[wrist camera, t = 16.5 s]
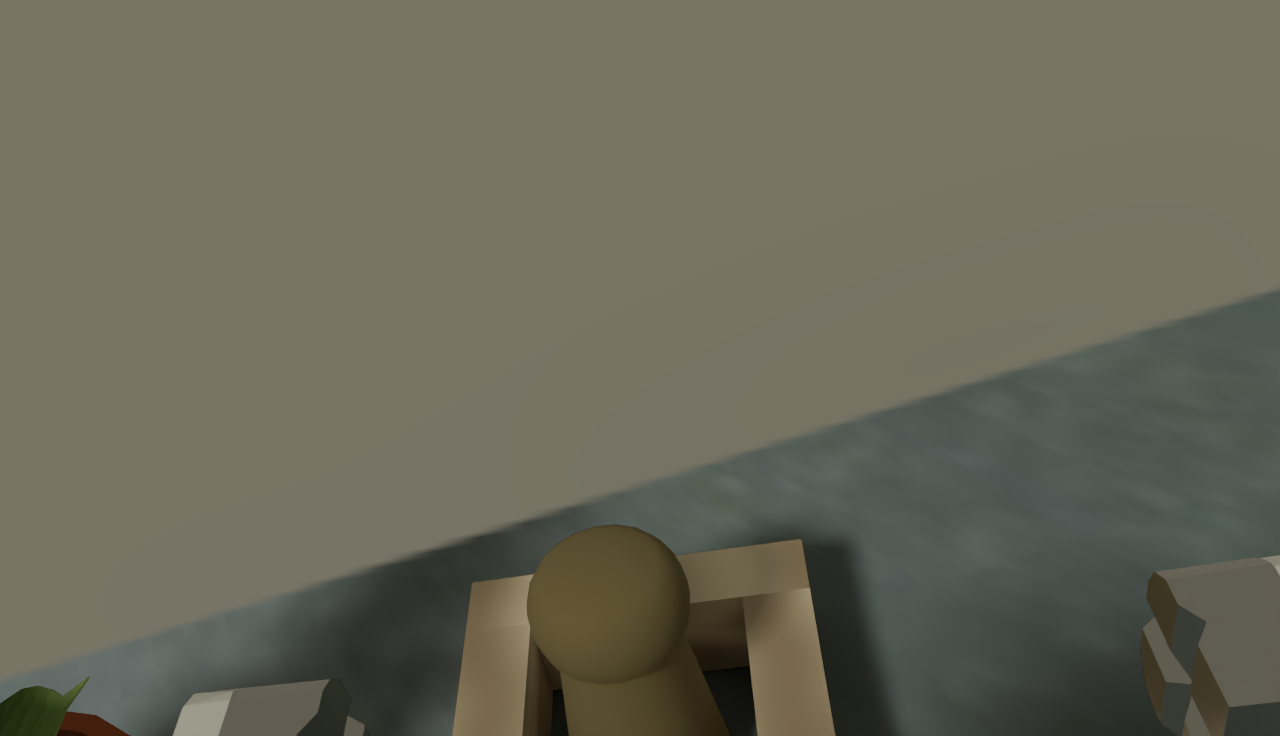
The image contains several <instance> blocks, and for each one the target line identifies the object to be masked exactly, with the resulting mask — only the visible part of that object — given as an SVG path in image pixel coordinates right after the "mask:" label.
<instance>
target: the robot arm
mask: <svg viewBox="0 0 1280 736" xmlns="http://www.w3.org/2000/svg"><path fill="white" fill-rule="evenodd" d="M1146 598H1147V601H1148V603H1149V605H1150V607H1151V609H1152V612H1153V614H1154V616H1155V617H1154V618H1153V619H1152V620H1151V621H1150V622H1149V623H1148V624H1147V625H1146V626H1145V627H1144V628H1143V629H1142V642H1141V657H1142V665H1143V672H1144V679H1145V682H1146V685H1147V689H1148V692H1149V695H1150V699H1151V701H1152V704H1153V706H1154V709H1155V711H1156V713H1157V716H1158V718H1159V721H1160V723H1161V724H1162V725H1164V726H1165V727H1167V728H1168V729H1169V730H1171V731H1172V732H1174V733H1175V734H1176V735H1178V736H1280V555H1279V556H1271V557H1263V558H1261V559H1258V558H1248V559H1241V560H1234V561H1227V562H1220V563H1213V564H1206V565H1199V566H1192V567H1185V568H1178V569H1171V570H1164V571H1156V572H1154V573H1153V575H1152V576H1151V578H1150V579H1149V583H1148V590H1147V597H1146ZM350 702H351V697H350V696H349V694H348V692H347V690H346V689H345V687H344V685H343V684H342V682H341V680H340V679H327V680H317V681H307V682H297V683H287V684H277V685H268V686H258V687H248V688H240V689H231V690H222V691H214V692H205V693H196V694H193V696H192V697H191V698H190V699H189V700H188V702H187V703H186V704H185V705H184V707H183V708H182V710H181V713H180V716H179V719H178V721H177V724H176V727H175V730H174V733H173V736H370V734H369V732H368V730H367V728H366V726H365V725H364V724H362V723H360V722H358V721H357V720H355V719H353V718H351V717H349V716H348V712H349V707H350Z"/></svg>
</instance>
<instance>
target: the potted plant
mask: <svg viewBox="0 0 1280 736" xmlns="http://www.w3.org/2000/svg"><path fill="white" fill-rule="evenodd" d="M88 679H89V677H87V678H86V679H85V680H84V681H82V682H81V683H80V684H78V685H77V686H76V687H74V688H73V689H72V690H71V691H69V692H68V693H67V694H65V695H64V696H62V695H61V694H59V693H57V692H56V691H54V690H52V689H48V688H44V687H41V686H34V687H29V688H24V689H21V690H19V691H18V692H16V693H15V694H13V695H12V696H10V697H9V698H8V699H6V700H5V701H3V702H2V703H0V736H130V735H128V734H126V733H125V732H123V731H121V730H120V729H118V728H116V727H115V726H113V725H112V724H110V723H108V722H107V721H105V720H103V719H102V718H100V717H98V716H97V715H90V714H82V713H75V712H67V709H68V708H69V706H70V705H71V703H72V702H73V701H74V699H75V698H76V696H77V695H78V693H79V692H80V691H81V689H82V688H83V686H84V685H85V684H86V682H87V681H88Z"/></svg>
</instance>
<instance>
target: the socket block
mask: <svg viewBox="0 0 1280 736" xmlns="http://www.w3.org/2000/svg"><path fill="white" fill-rule="evenodd" d="M676 557H677V559H678V560H679V562H680V564H681V566H682V568H683V571H684V573H685V576H686V578H687V580H688V585H689V590H690V615H689V622H688V626H687V629H686V631H685V635H686V637H687V640H688V642H689V644H690V646H691V649H692V651H693V653H694V655H695V657H696V660H697V662H698V664H699V666H700V669H701V671H702V672H704V671H712V670H720V669H729V668H737V667H745V666H750V671H751V680H752V689H753V698H754V707H755V716H756V725H757V734H758V736H835V731H834V725H833V719H832V714H831V708H830V702H829V696H828V690H827V685H826V679H825V673H824V667H823V661H822V656H821V650H820V644H819V638H818V632H817V627H816V621H815V615H814V609H813V603H812V598H811V592H810V586H809V580H808V575H807V569H806V563H805V557H804V551H803V546H802V540H801V539H797V540H790V541H782V542H775V543H767V544H759V545H752V546H744V547H737V548H729V549H722V550H714V551H707V552H699V553H692V554H684V555H677V556H676ZM533 575H534V574H533ZM533 575H526V576H518V577H511V578H503V579H496V580H488V581H481V582H473V583H472V587H471V595H470V603H469V610H468V618H467V626H466V634H465V641H464V649H463V657H462V665H461V673H460V680H459V688H458V696H457V704H456V711H455V719H454V727H453V735H452V736H551V725H552V705H553V690H558V689H562V682H561V674H560V671H559V670H557V669H556V668H555V667H554V666H553V665H552V664H551V662H550V661H549V660H548V659H547V657H546V656H545V655H544V654H543V652H542V651H541V650H540V649H539V647H538V646H537V645H536V643H535V640H534V638H533V635H532V632H531V629H530V625H529V621H528V617H527V597H528V591H529V584H530V581H531V579H532V577H533Z"/></svg>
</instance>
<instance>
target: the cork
mask: <svg viewBox="0 0 1280 736" xmlns="http://www.w3.org/2000/svg"><path fill="white" fill-rule="evenodd" d="M689 615H690V590H689V585H688V580H687V578H686V576H685V573H684V571H683V568H682V566H681V564H680V562H679V560H678V559H677V557H676V556H675V554H674V553H673V552H672V551H671V550H670V549H669V548H668V547H667V546H666V545H665V544H664V543H663V542H662V541H661V540H659V539H658V538H656V537H654V536H653V535H651V534H649V533H647V532H644V531H642V530H640V529H638V528H636V527H629V526H623V525H606V526H595V527H592V528H589V529H586V530H583V531H580V532H577V533H574V534H573V535H571V536H569V537H568V538H566V539H564V540H562V541H561V542H559V543H557V544H556V545H555V546H554V547H553V548H552V549H551V550H550V551H549V552H548V553H547V554H546V555H545V556H544V557H543V559H542V561H541V562H540V564H539V566H538V568H537V570H536V571H535V573H534V575H533V577H532V579H531V581H530V584H529V591H528V597H527V617H528V621H529V625H530V629H531V632H532V635H533V638H534V640H535V643H536V645H537V646H538V647H539V649H540V650H541V651H542V652H543V654H544V655H545V656H546V657H547V659H548V660H549V661H550V662H551V664H552V665H553V666H554V667H555V668H556V669H557V670H559V671H560V674H561V682H562V689H563V696H564V704H565V711H566V719H567V726H568V733H569V736H731V735H730V733H729V731H728V729H727V726H726V724H725V722H724V720H723V718H722V715H721V713H720V711H719V709H718V706H717V704H716V702H715V700H714V698H713V695H712V693H711V691H710V689H709V686H708V684H707V682H706V680H705V677H704V675H703V673H702V671H701V669H700V666H699V664H698V662H697V660H696V657H695V655H694V653H693V651H692V649H691V646H690V644H689V642H688V640H687V637H686V635H685V631H686V629H687V626H688V622H689Z"/></svg>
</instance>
